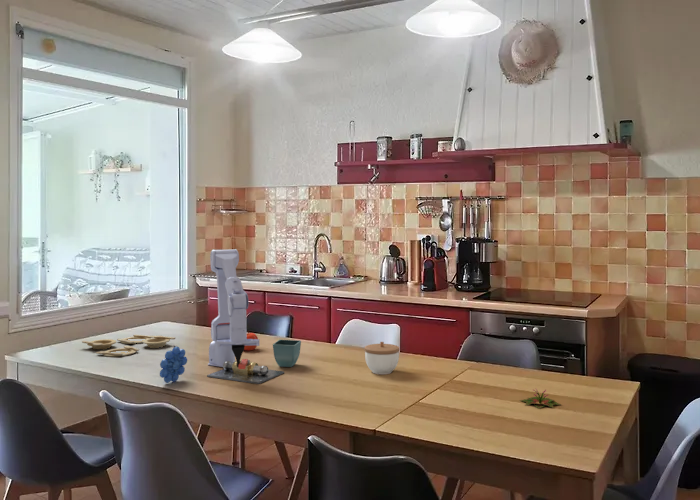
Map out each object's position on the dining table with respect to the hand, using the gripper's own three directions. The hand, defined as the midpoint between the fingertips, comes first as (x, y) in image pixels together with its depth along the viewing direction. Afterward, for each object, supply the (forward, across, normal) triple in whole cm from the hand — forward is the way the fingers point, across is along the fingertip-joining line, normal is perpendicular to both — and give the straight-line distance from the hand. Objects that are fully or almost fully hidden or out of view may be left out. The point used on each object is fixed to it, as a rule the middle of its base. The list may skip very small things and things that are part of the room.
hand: (238, 366), depth 218 cm
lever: (+1, +2, +2) cm, 3 cm away
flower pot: (+5, +18, +16) cm, 24 cm away
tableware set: (+5, -49, +59) cm, 77 cm away
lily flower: (+5, +92, -41) cm, 101 cm away
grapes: (+5, -23, 0) cm, 23 cm away
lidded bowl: (+4, +51, +2) cm, 51 cm away
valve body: (+4, +2, +5) cm, 7 cm away
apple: (+5, +2, +46) cm, 46 cm away
